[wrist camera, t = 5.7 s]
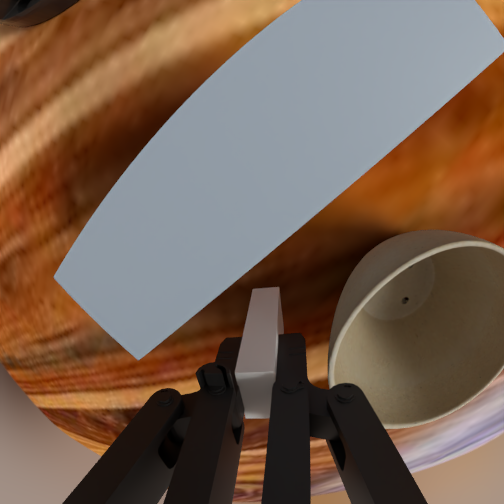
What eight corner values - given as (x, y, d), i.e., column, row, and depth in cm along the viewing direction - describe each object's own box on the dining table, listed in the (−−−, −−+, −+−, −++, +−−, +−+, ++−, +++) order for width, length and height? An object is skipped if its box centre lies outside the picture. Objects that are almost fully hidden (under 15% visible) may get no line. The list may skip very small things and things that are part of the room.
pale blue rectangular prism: (202, 177, 16) (53, 277, 5) (328, 64, 13) (411, -63, 2) (233, 209, 17) (138, 360, 6) (360, 98, 14) (509, 46, 3)
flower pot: (375, 368, 20) (397, 449, 13) (278, 278, 18) (274, 363, 11) (485, 278, 17) (544, 338, 10) (410, 159, 15) (485, 183, 8)
